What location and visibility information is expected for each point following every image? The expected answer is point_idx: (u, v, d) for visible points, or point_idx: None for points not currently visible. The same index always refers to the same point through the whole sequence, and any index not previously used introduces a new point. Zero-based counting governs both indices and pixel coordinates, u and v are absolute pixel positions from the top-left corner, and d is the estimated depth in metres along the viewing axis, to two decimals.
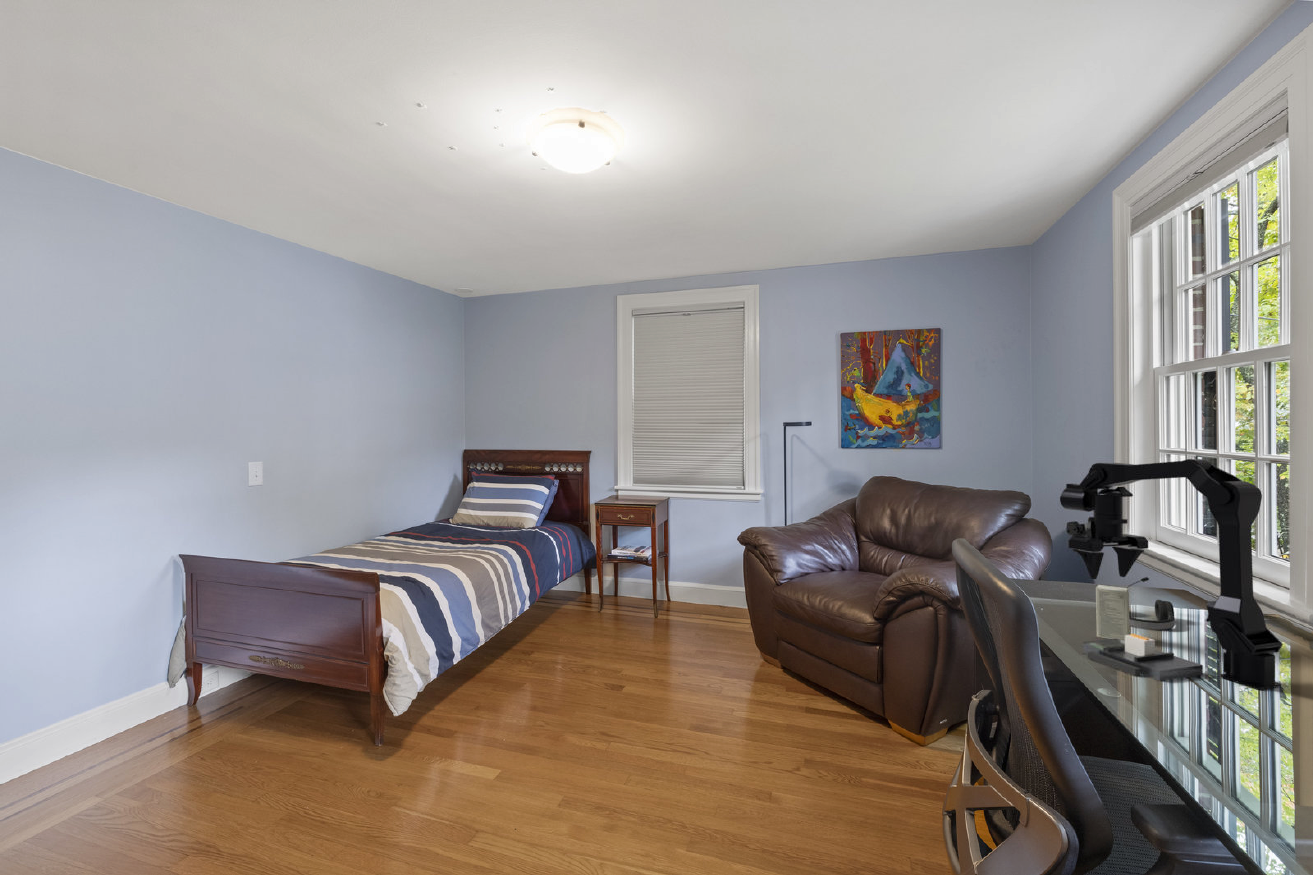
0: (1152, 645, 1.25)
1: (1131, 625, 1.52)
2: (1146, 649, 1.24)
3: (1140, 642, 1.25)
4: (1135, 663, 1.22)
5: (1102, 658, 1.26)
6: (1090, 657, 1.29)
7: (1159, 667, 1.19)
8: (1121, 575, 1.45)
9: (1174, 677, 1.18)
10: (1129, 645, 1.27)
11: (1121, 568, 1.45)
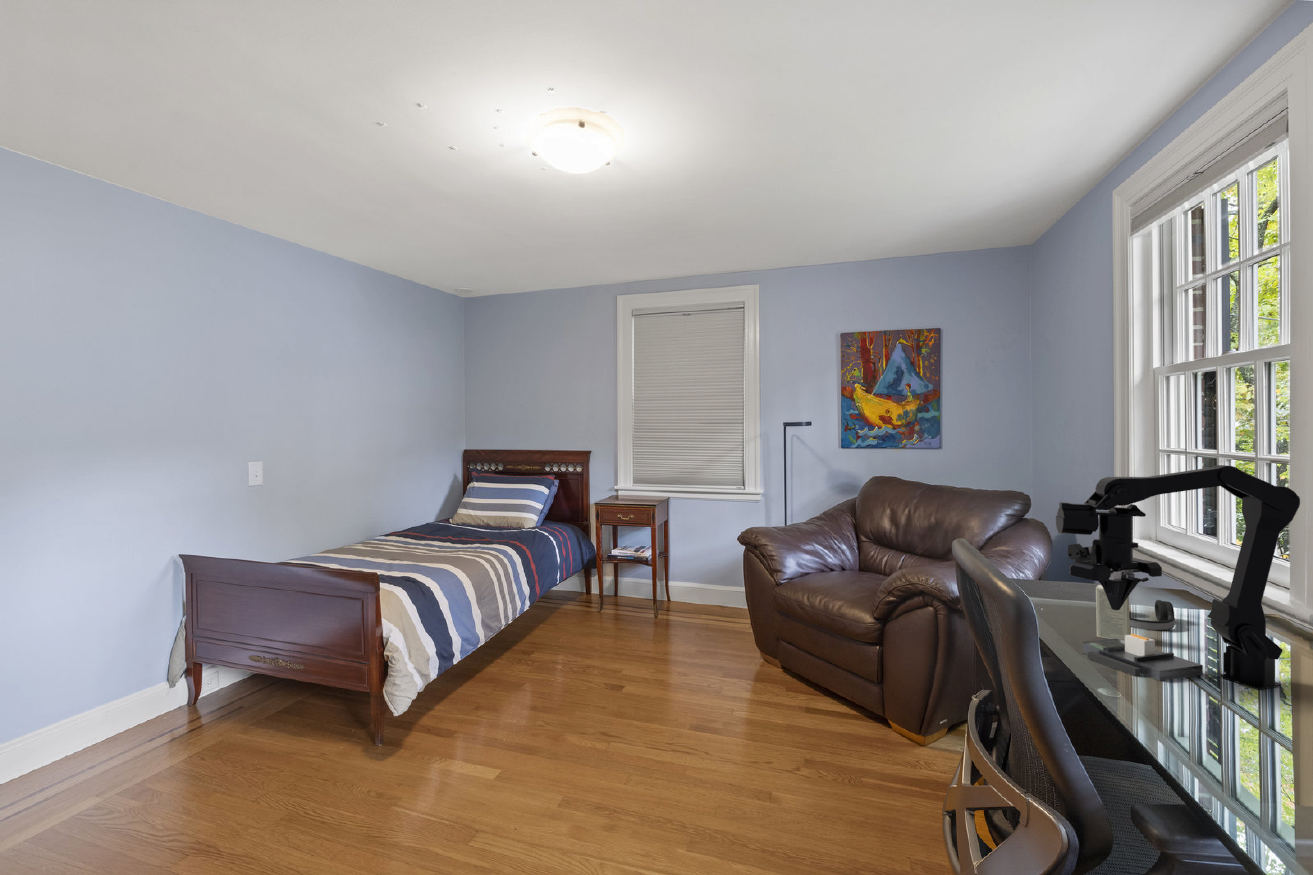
0: (1152, 645, 1.25)
1: (1131, 625, 1.51)
2: (1146, 649, 1.24)
3: (1140, 642, 1.25)
4: (1135, 663, 1.22)
5: (1102, 658, 1.26)
6: (1090, 657, 1.29)
7: (1159, 667, 1.19)
8: None
9: (1174, 677, 1.18)
10: (1129, 645, 1.27)
11: None
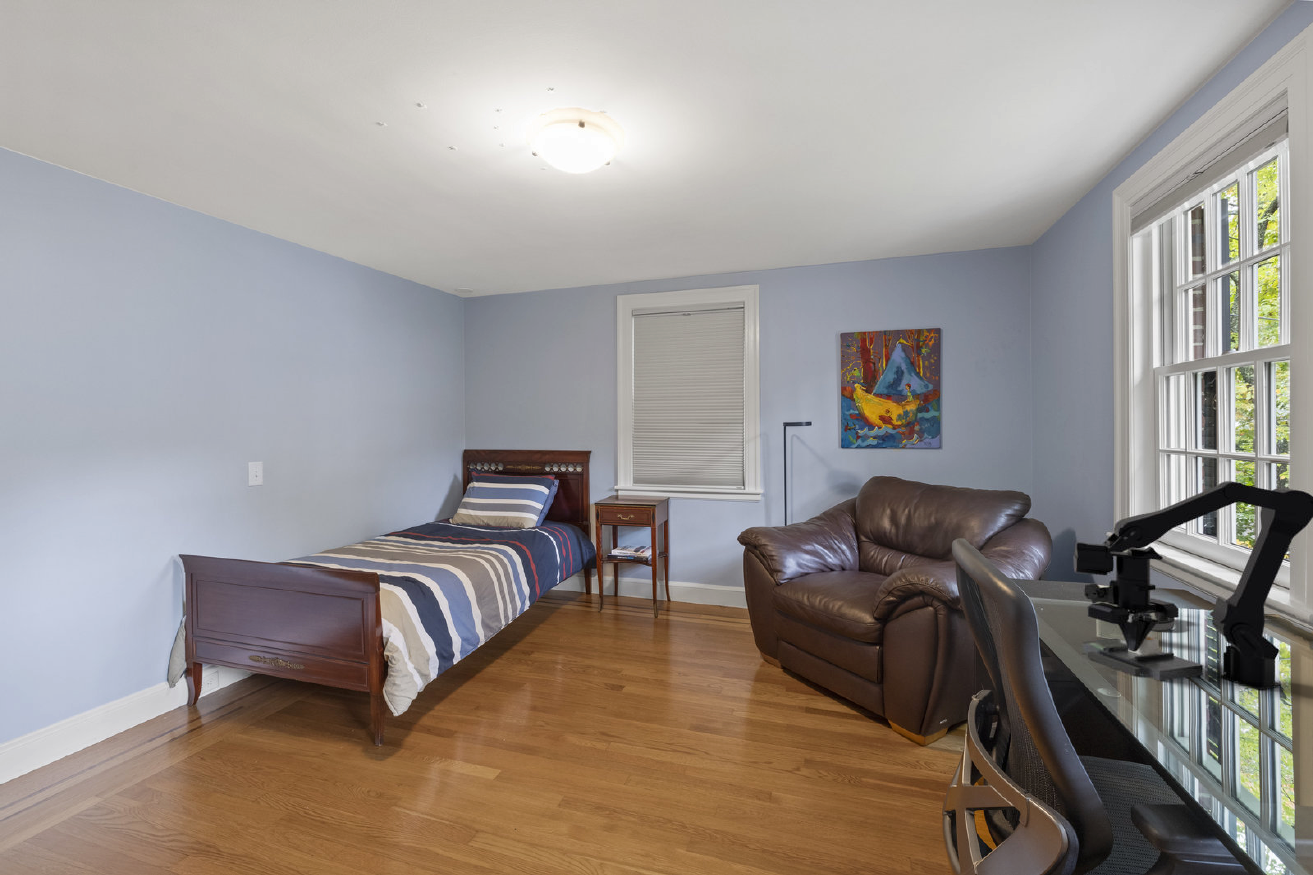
0: (1156, 645, 1.25)
1: None
2: (1150, 649, 1.25)
3: (1144, 641, 1.25)
4: (1135, 663, 1.22)
5: (1102, 658, 1.26)
6: (1090, 657, 1.29)
7: (1159, 667, 1.19)
8: None
9: (1174, 677, 1.18)
10: None
11: None
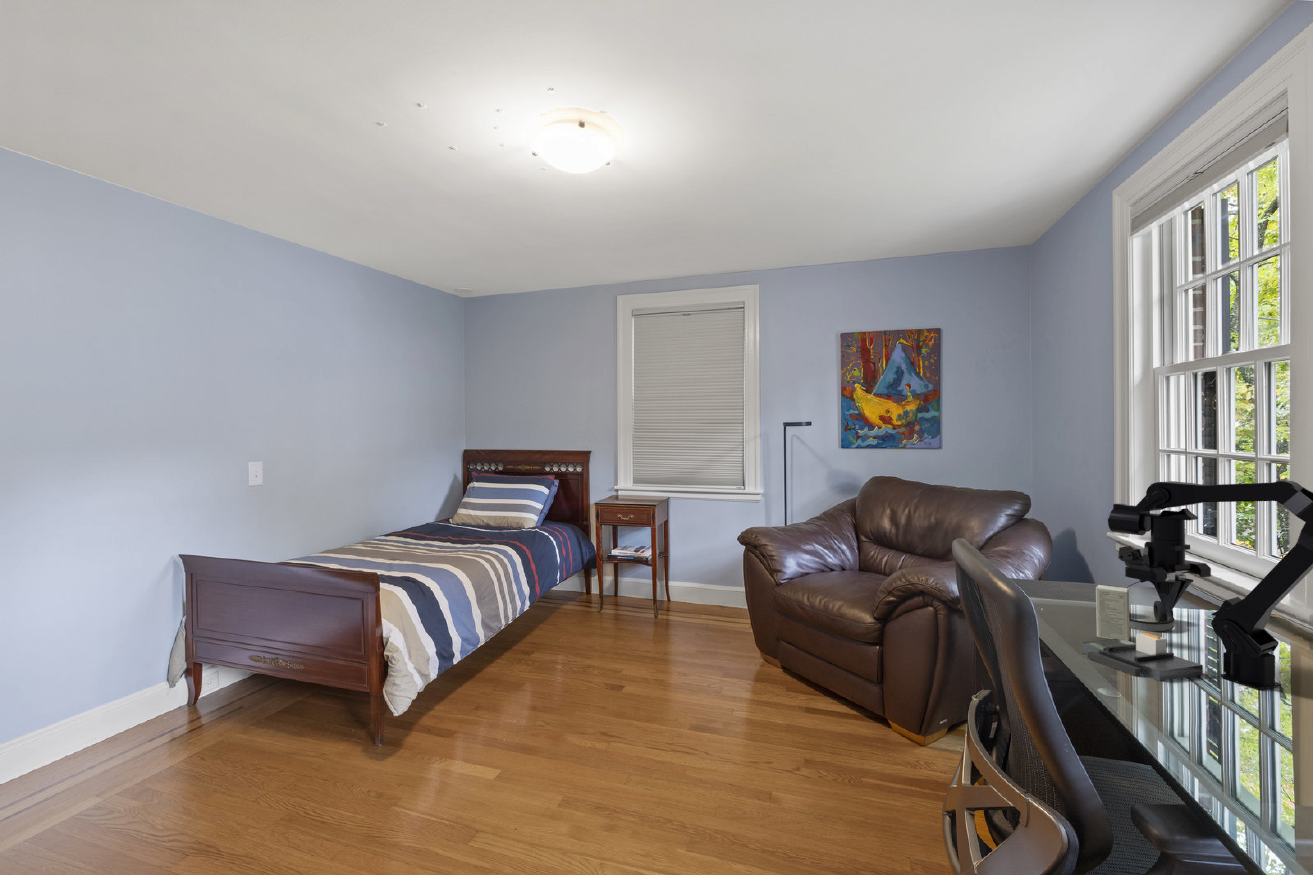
0: (1163, 644, 1.26)
1: (1131, 627, 1.50)
2: (1158, 648, 1.25)
3: (1152, 640, 1.26)
4: (1135, 663, 1.22)
5: (1102, 658, 1.26)
6: (1090, 657, 1.29)
7: (1159, 667, 1.19)
8: None
9: (1174, 677, 1.18)
10: (1140, 644, 1.28)
11: None
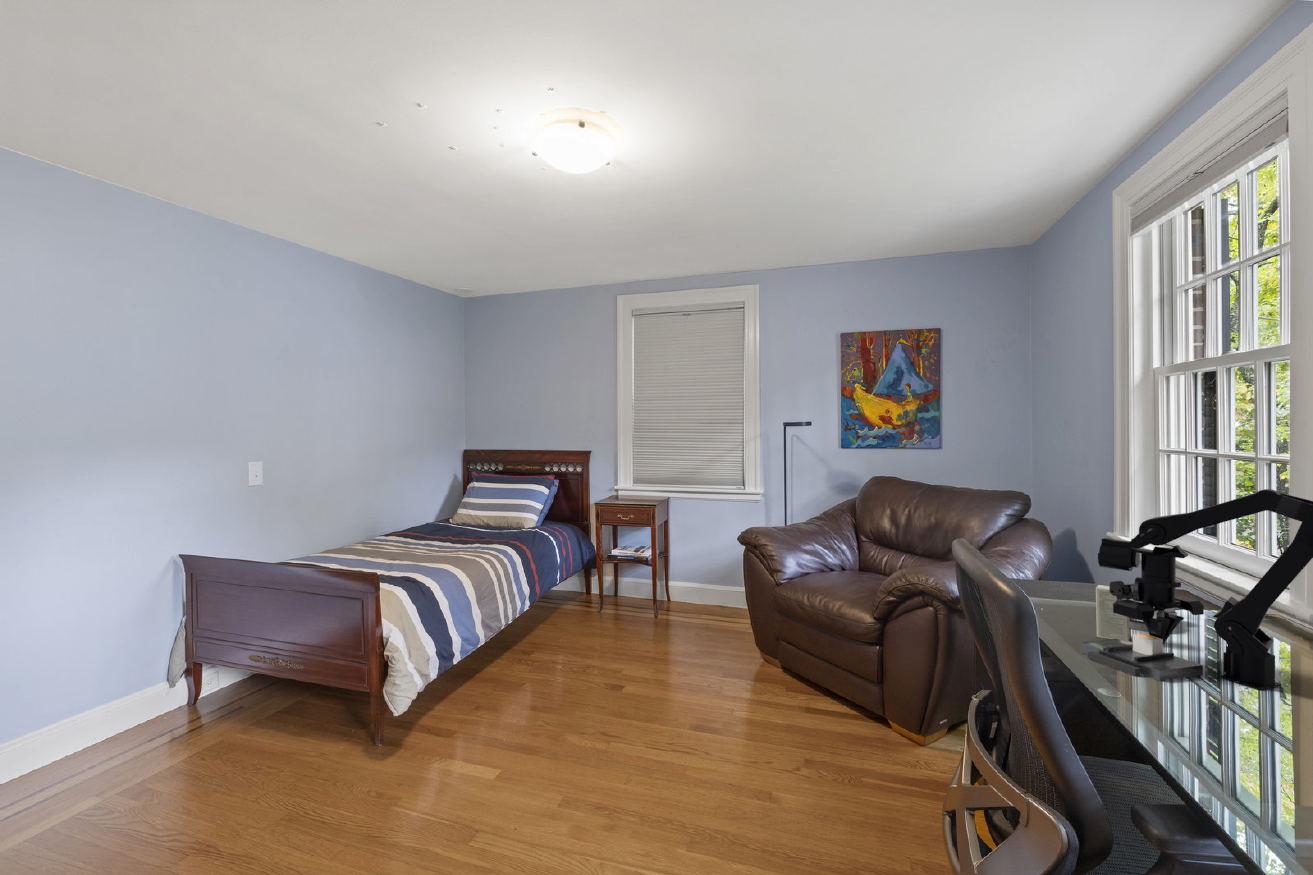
0: (1160, 644, 1.25)
1: (1131, 627, 1.50)
2: (1154, 648, 1.25)
3: (1148, 641, 1.26)
4: (1135, 663, 1.22)
5: (1102, 658, 1.26)
6: (1090, 657, 1.29)
7: (1159, 667, 1.19)
8: None
9: (1174, 677, 1.18)
10: (1137, 644, 1.28)
11: None
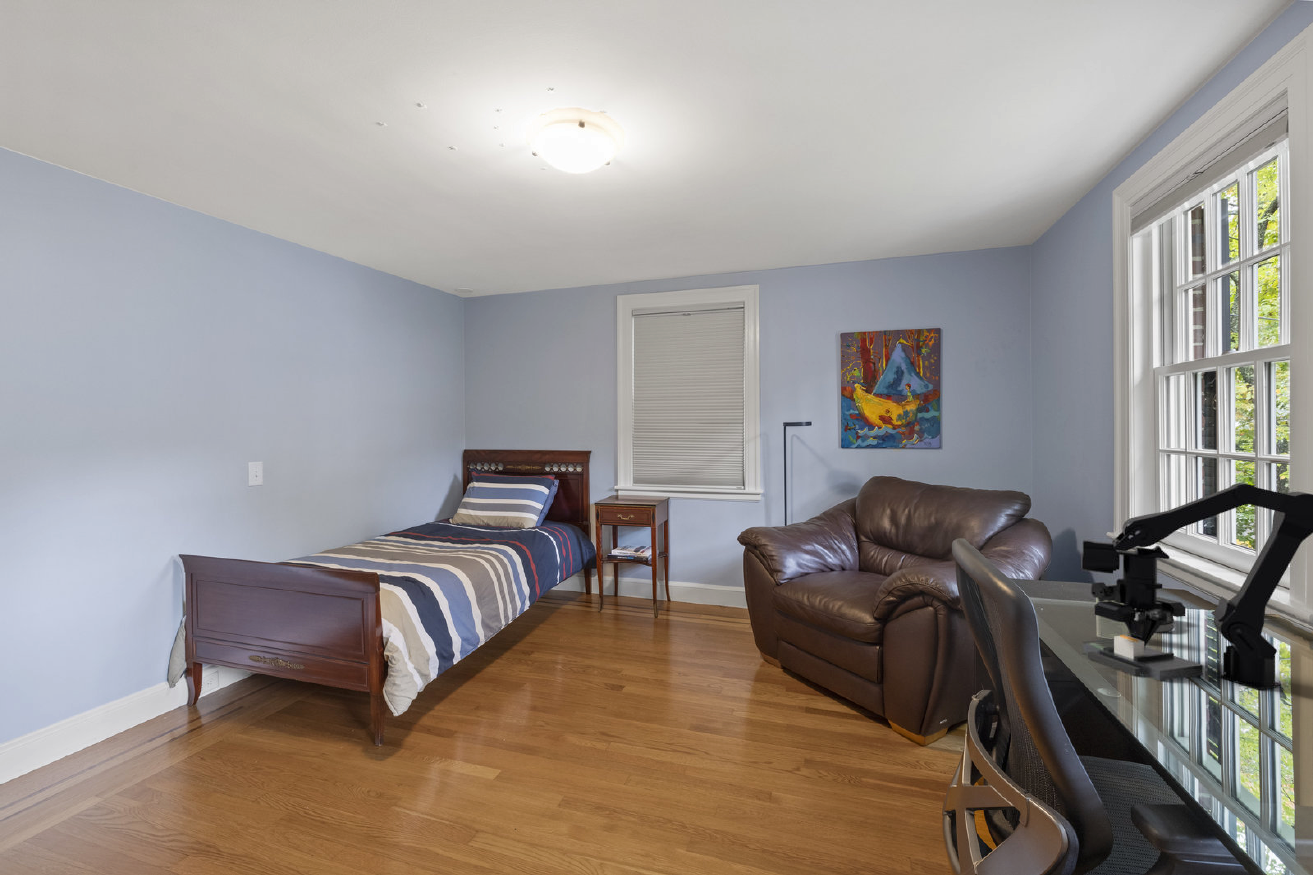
0: (1141, 646, 1.24)
1: None
2: (1135, 650, 1.24)
3: (1129, 643, 1.24)
4: (1135, 663, 1.22)
5: (1102, 658, 1.26)
6: (1090, 657, 1.29)
7: (1159, 667, 1.19)
8: None
9: (1174, 677, 1.18)
10: (1118, 647, 1.26)
11: None
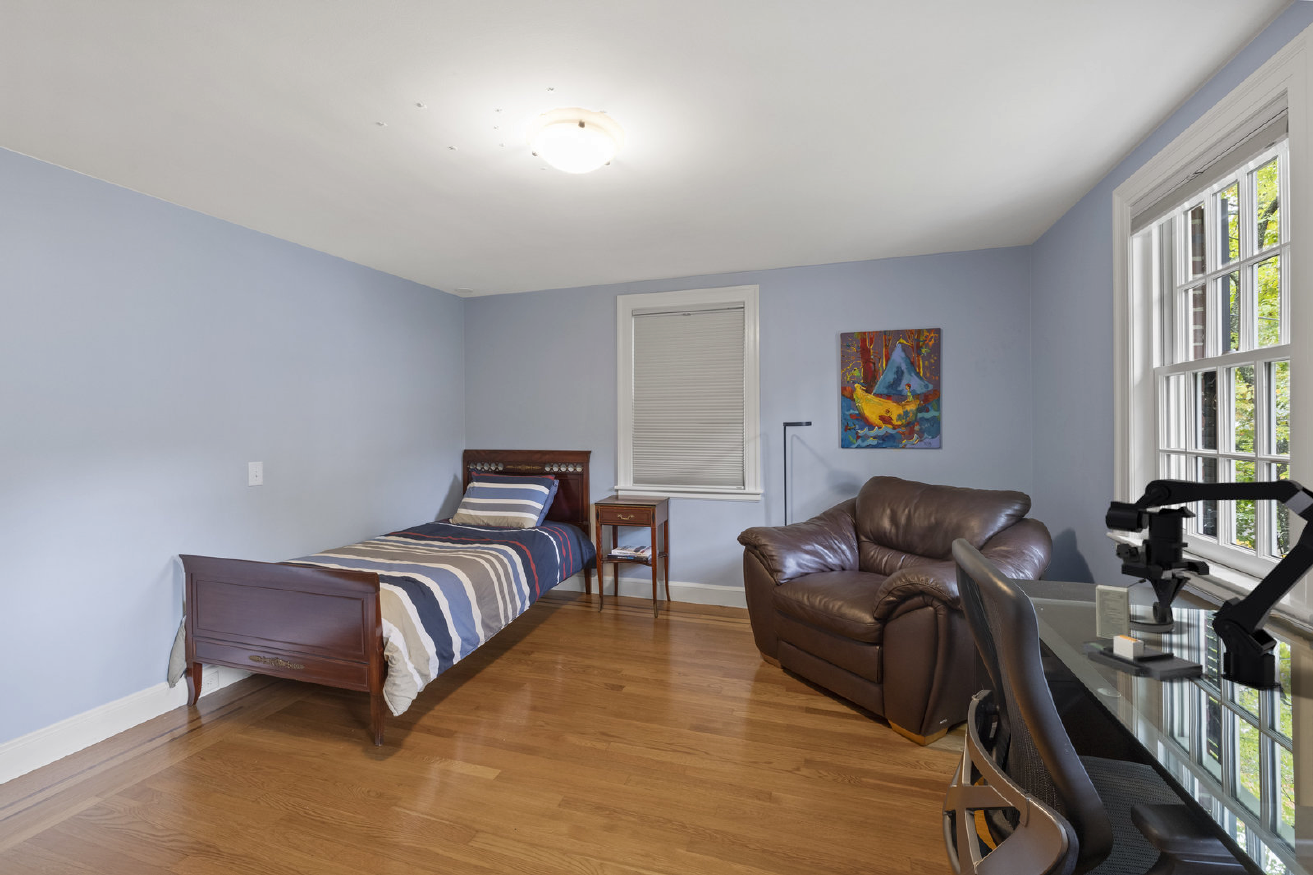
0: (1141, 646, 1.24)
1: (1131, 628, 1.49)
2: (1135, 650, 1.24)
3: (1129, 643, 1.24)
4: (1135, 663, 1.22)
5: (1102, 658, 1.26)
6: (1090, 657, 1.29)
7: (1159, 667, 1.19)
8: None
9: (1174, 677, 1.18)
10: (1118, 647, 1.26)
11: None
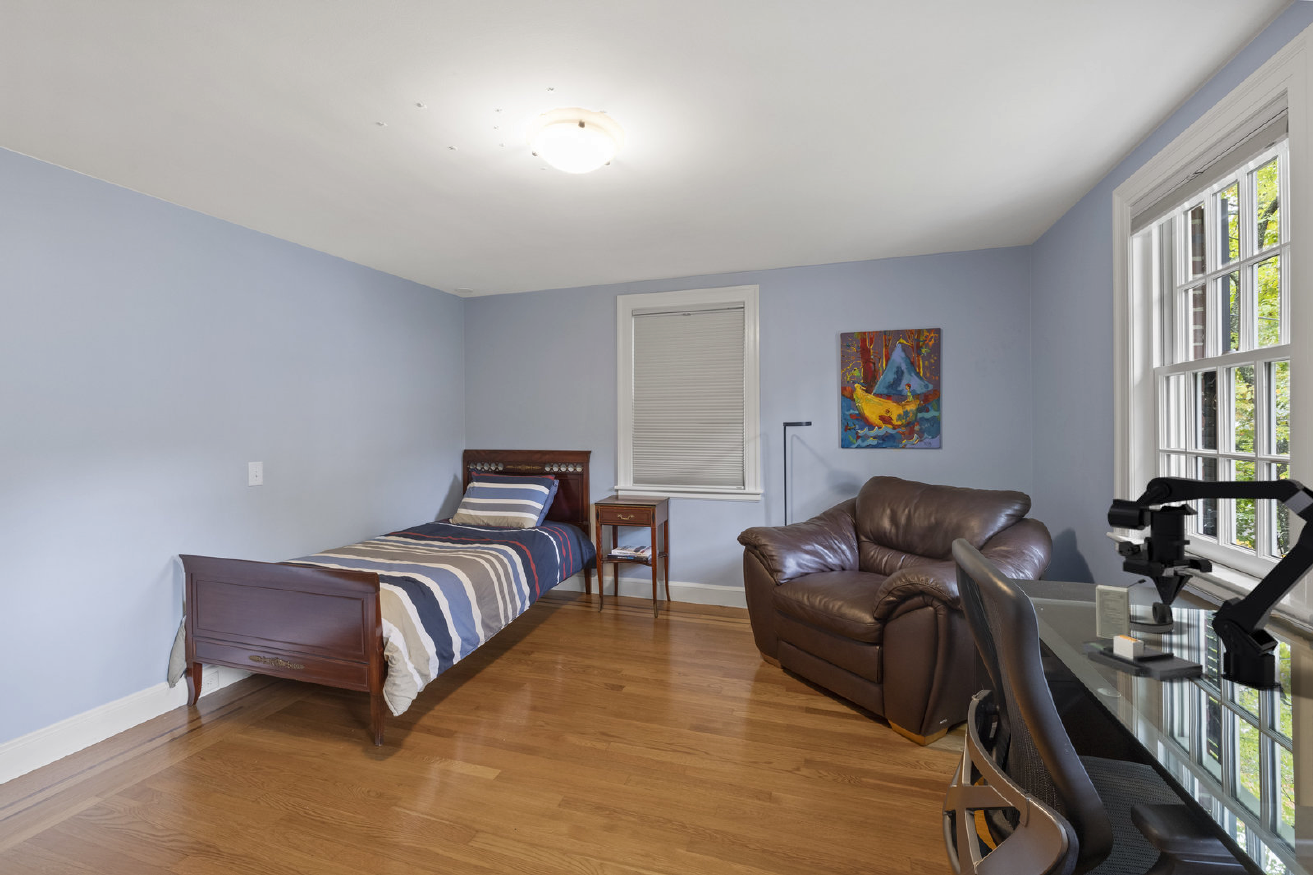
0: (1141, 646, 1.24)
1: (1131, 628, 1.49)
2: (1135, 650, 1.24)
3: (1129, 643, 1.24)
4: (1135, 663, 1.22)
5: (1102, 658, 1.26)
6: (1090, 657, 1.29)
7: (1159, 667, 1.19)
8: None
9: (1174, 677, 1.18)
10: (1118, 647, 1.26)
11: None
